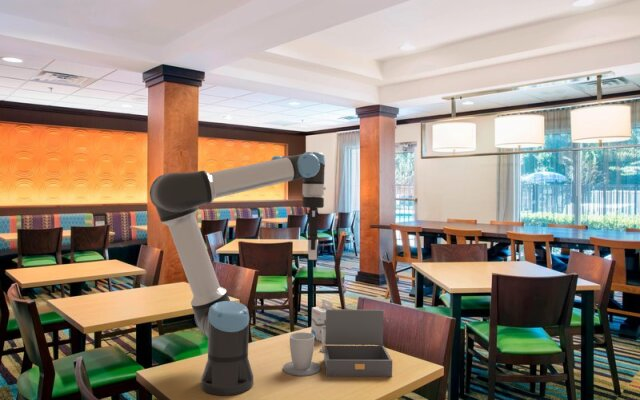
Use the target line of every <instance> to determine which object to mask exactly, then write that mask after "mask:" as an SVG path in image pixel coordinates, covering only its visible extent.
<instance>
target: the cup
mask: <svg viewBox="0 0 640 400" xmlns="http://www.w3.org/2000/svg"><path fill="white" fill-rule="evenodd" d="M314 348H315V336H314V335H313V334H311V332H305V331H304V332H301V331H300V332H294V333H291V334H290V335H289V349H290V350H289V351H290V356H291V357H290V358H291V362H293V365H294V368H296V369H308V368H309V367H310V363H311V362H312V360H313V355H314V350H315V349H314Z"/></svg>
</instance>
